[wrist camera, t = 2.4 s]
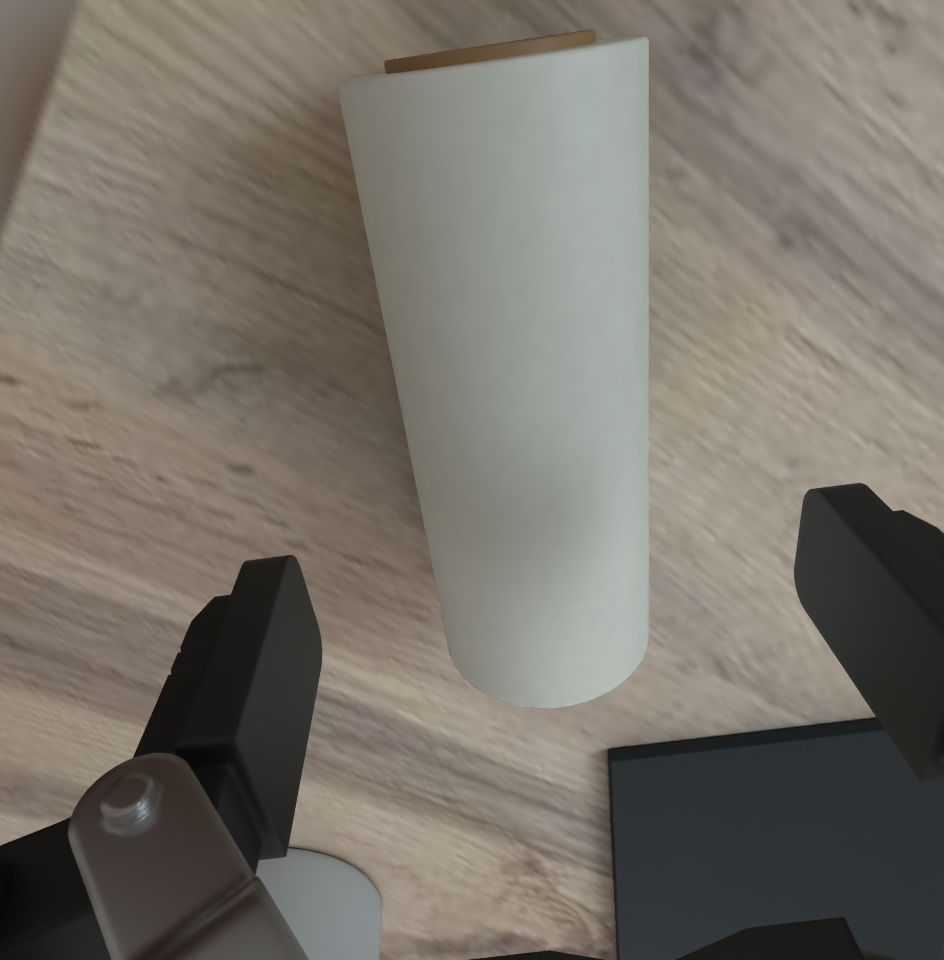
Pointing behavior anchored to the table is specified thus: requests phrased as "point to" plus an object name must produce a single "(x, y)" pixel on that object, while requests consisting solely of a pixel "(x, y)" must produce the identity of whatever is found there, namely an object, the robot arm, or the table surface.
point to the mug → (325, 904)
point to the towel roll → (520, 344)
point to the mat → (775, 840)
